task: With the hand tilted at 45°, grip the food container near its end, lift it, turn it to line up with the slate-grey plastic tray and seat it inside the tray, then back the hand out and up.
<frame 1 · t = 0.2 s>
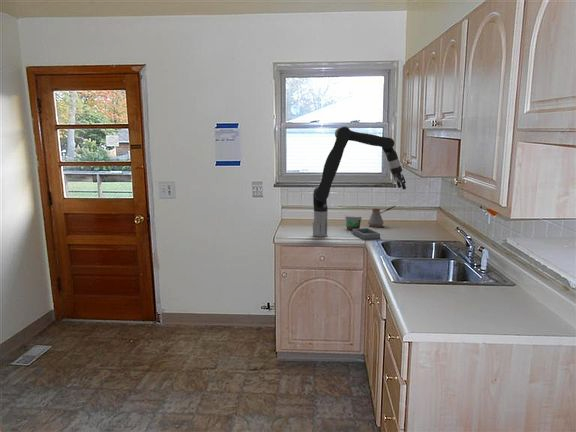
hand: (402, 188, 297), 31 cm above the counter, tool tilted 20°, fingers open, 8 cm apart
food container: (351, 230, 312), on the counter
tray: (365, 236, 293), on the counter
coffee pot: (381, 226, 326), on the counter
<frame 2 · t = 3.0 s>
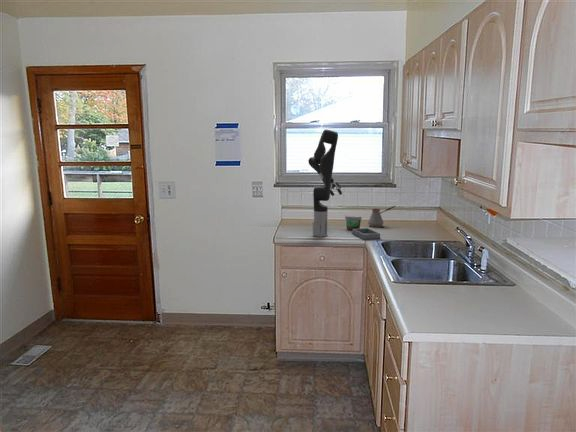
hand: (337, 194, 317), 24 cm above the counter, tool tilted 45°, fingers open, 8 cm apart
nothing on the counter moved.
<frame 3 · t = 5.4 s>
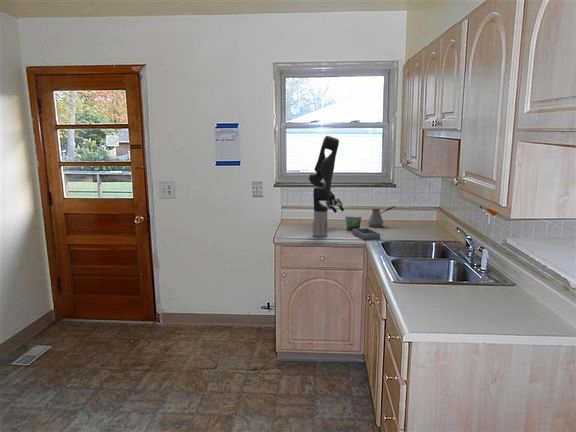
hand: (339, 211, 317), 12 cm above the counter, tool tilted 45°, fingers open, 8 cm apart
nothing on the counter moved.
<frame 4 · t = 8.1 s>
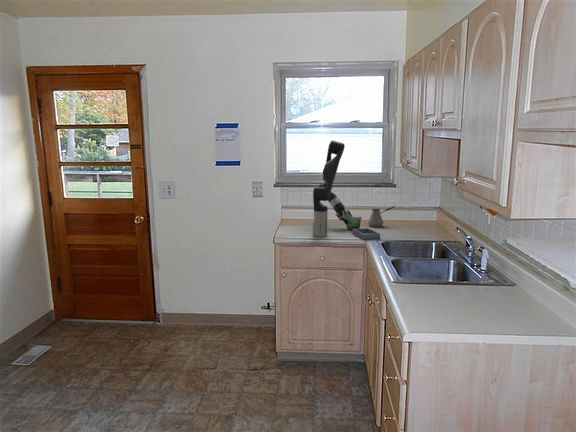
hand: (350, 223, 313), 5 cm above the counter, tool tilted 45°, fingers closed on food container, 5 cm apart
food container: (351, 230, 312), on the counter, touching gripper
everything else where it was.
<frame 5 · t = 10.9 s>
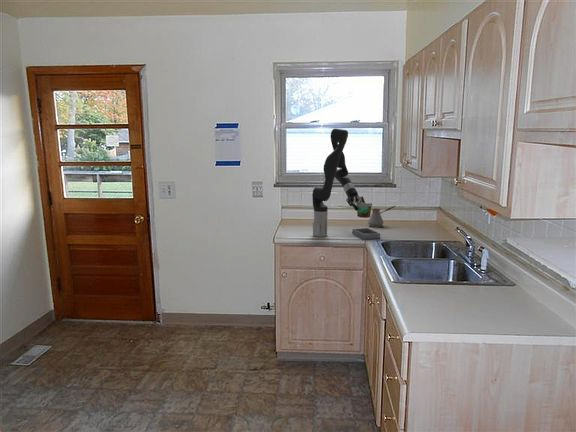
hand: (360, 209, 301), 16 cm above the counter, tool tilted 45°, fingers closed on food container, 5 cm apart
food container: (361, 217, 301), point 11 cm above the counter, touching gripper
everything else where it was.
when the fingers open (7 cm above the counter, at t = 14.0 s): food container drops 1 cm, resting on tray.
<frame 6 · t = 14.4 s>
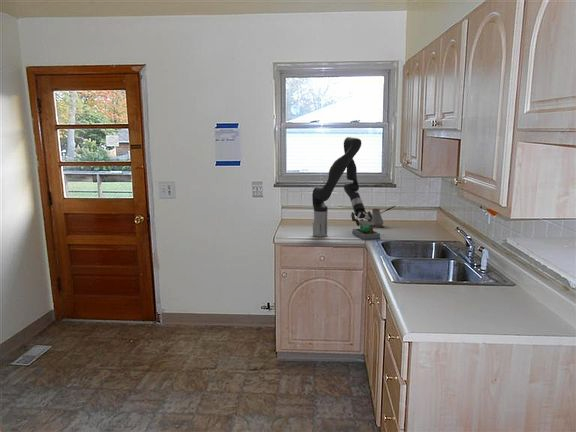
hand: (364, 225, 294), 7 cm above the counter, tool tilted 45°, fingers open, 8 cm apart
food container: (363, 235, 293), point 1 cm above the counter, touching gripper, tray
everything else where it was.
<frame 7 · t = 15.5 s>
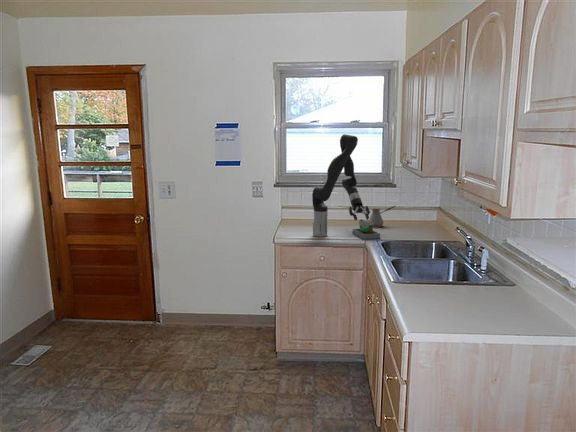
hand: (362, 219, 297), 10 cm above the counter, tool tilted 45°, fingers open, 8 cm apart
food container: (363, 235, 293), resting on tray
everything else where it was.
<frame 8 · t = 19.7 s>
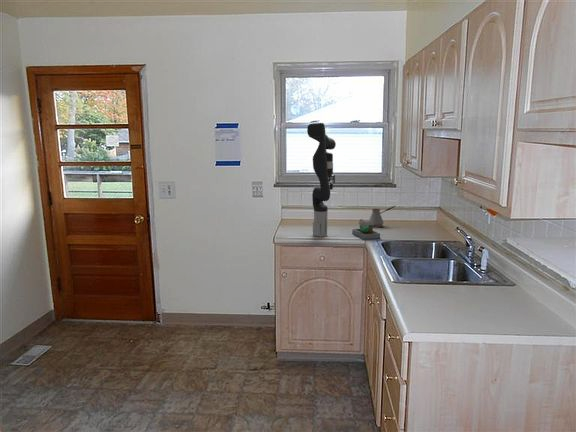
hand: (327, 190, 315), 28 cm above the counter, tool pointing down, fingers open, 8 cm apart
nothing on the counter moved.
at the end: food container 1.4 cm off-centre on the tray, point 0.4 cm above the tray's base; food container tilted 0°; the gripper is holding nothing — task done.
